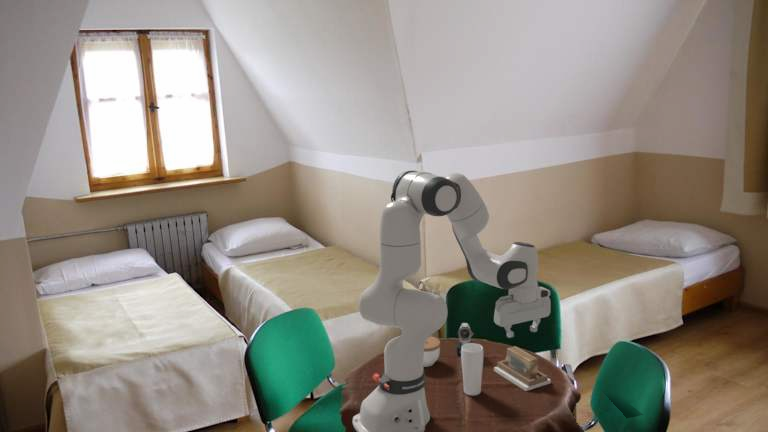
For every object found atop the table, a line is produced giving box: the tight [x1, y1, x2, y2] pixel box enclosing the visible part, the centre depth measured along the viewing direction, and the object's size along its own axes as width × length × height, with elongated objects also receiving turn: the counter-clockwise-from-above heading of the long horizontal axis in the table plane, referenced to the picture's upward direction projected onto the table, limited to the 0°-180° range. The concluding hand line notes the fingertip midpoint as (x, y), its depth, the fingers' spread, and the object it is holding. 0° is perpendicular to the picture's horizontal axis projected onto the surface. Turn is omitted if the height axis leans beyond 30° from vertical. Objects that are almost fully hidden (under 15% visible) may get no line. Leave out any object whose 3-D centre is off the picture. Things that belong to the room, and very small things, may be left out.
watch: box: [456, 322, 474, 357], centre depth 216 cm, size 6×8×11 cm
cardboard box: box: [506, 345, 539, 380], centre depth 197 cm, size 4×11×7 cm, turn 28°
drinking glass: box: [460, 342, 484, 397], centre depth 188 cm, size 7×7×15 cm
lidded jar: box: [423, 335, 441, 368], centre depth 210 cm, size 11×11×9 cm
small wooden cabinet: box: [493, 356, 552, 392], centre depth 198 cm, size 10×16×4 cm, turn 27°
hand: (521, 334), depth 195 cm, fingers open, 8 cm apart
